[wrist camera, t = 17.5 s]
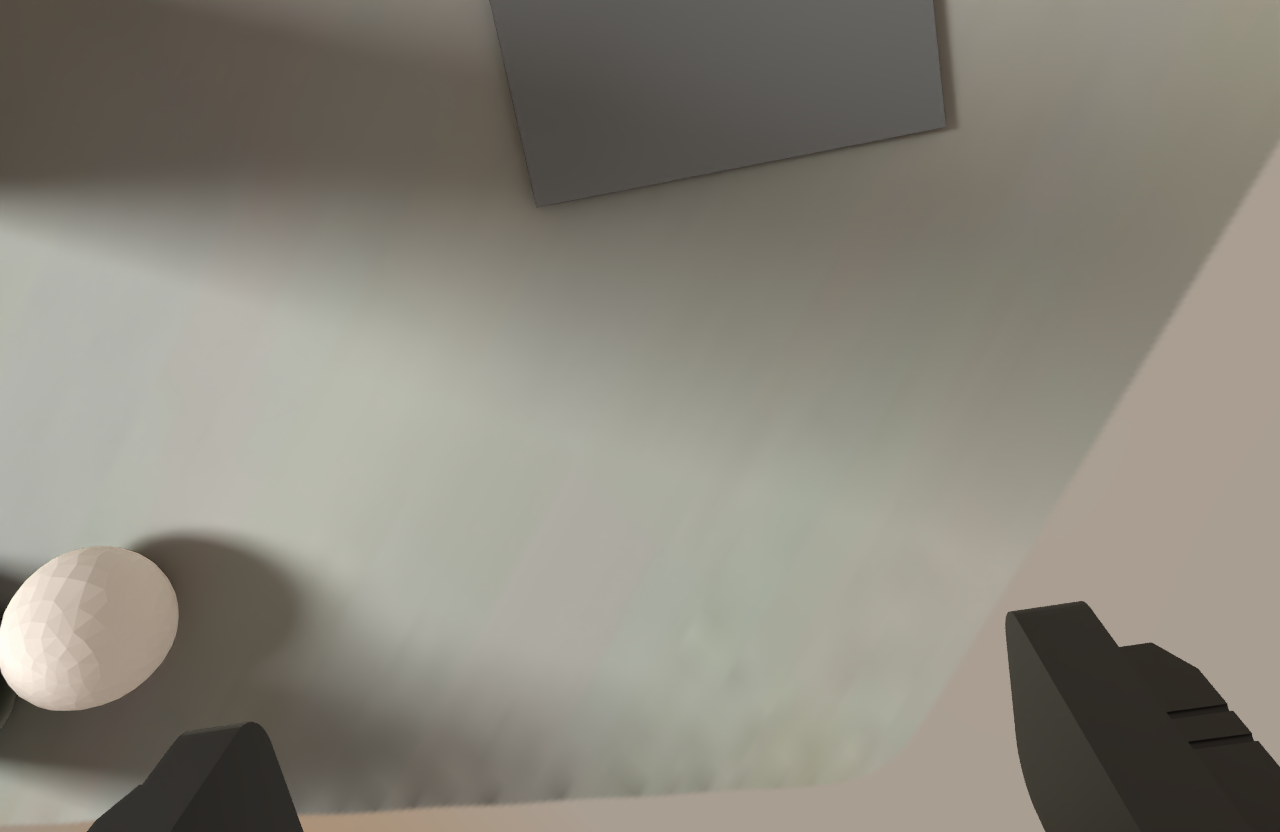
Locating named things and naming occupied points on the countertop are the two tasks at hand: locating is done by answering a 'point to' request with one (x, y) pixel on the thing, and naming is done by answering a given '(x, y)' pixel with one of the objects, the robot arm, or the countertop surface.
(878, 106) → the mat
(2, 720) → the green wine bottle
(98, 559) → the egg
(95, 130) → the countertop surface
